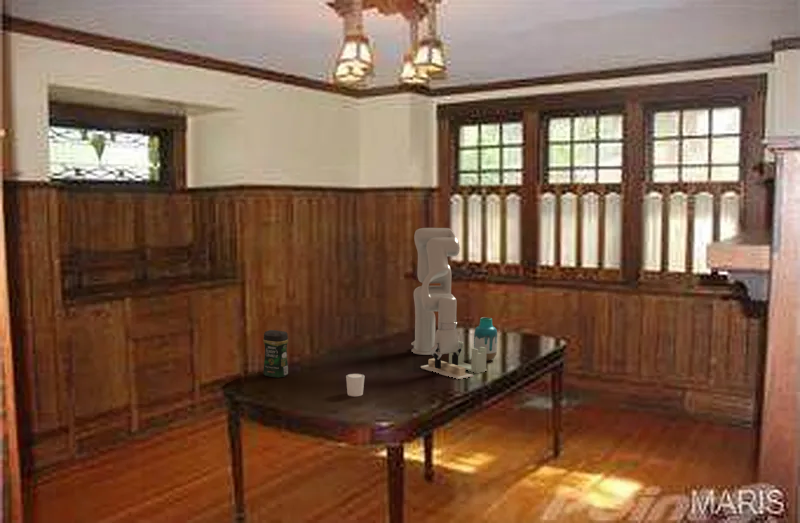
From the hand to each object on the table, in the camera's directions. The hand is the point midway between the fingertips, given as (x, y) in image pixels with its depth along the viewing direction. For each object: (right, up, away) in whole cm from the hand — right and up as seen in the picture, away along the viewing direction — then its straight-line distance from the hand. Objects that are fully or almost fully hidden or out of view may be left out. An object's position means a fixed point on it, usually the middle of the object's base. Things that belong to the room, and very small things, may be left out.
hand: (446, 366), depth 289 cm
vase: (+19, -1, +23) cm, 30 cm away
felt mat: (0, -3, 0) cm, 2 cm away
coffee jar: (-70, -3, -8) cm, 71 cm away
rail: (0, -2, 0) cm, 2 cm away
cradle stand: (+9, -2, +8) cm, 12 cm away
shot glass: (-36, -5, -33) cm, 49 cm away
